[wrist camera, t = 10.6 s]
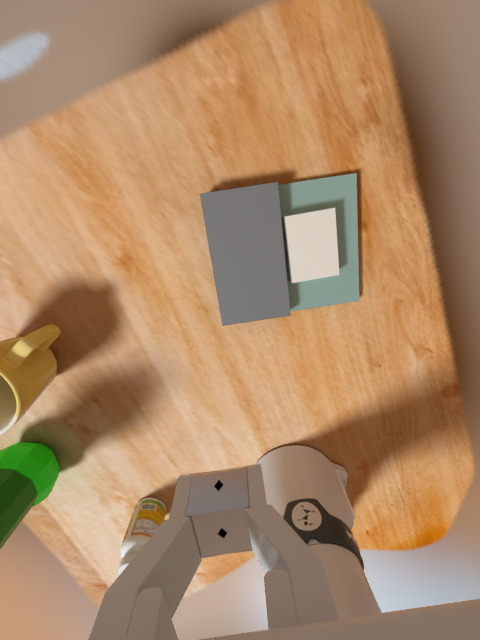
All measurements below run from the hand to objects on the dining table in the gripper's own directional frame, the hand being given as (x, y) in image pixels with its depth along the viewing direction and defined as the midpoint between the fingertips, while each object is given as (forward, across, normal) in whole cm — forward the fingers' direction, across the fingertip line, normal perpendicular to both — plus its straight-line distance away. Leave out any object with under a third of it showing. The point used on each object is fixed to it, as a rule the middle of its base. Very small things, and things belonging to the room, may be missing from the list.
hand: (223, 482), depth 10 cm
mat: (+29, -13, -6) cm, 32 cm away
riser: (+29, -4, -6) cm, 30 cm away
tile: (+28, -12, -6) cm, 31 cm away
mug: (+29, +27, +3) cm, 40 cm away
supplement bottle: (+29, +19, +34) cm, 49 cm away
